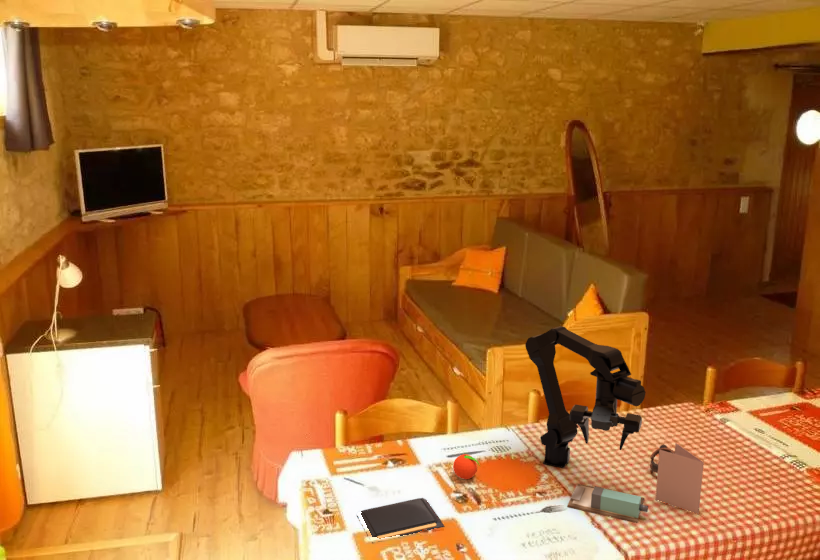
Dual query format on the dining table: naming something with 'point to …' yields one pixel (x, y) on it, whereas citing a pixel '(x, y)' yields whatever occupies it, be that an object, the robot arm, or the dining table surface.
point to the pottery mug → (653, 465)
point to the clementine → (465, 466)
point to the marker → (617, 502)
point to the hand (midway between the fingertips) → (603, 446)
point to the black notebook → (401, 518)
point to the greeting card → (679, 479)
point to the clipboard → (583, 502)
